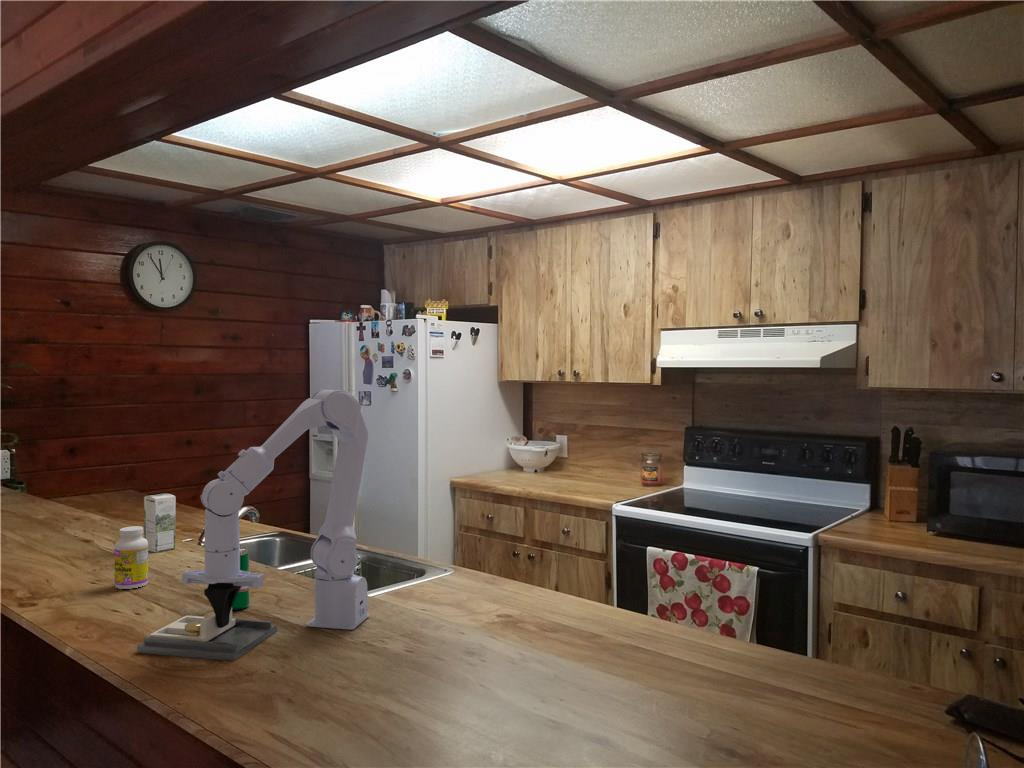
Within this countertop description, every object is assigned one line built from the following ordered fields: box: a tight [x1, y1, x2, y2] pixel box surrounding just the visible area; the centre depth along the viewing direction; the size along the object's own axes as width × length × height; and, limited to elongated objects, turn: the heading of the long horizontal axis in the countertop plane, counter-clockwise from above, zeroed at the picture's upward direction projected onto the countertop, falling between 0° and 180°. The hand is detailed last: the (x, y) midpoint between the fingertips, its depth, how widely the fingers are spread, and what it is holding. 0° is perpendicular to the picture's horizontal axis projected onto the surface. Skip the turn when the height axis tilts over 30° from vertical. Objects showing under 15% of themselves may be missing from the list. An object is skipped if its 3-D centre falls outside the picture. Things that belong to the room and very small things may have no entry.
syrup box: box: [143, 493, 177, 553], centre depth 197 cm, size 6×6×14 cm
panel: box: [149, 608, 236, 641], centre depth 131 cm, size 10×10×4 cm
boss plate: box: [136, 611, 278, 662], centre depth 130 cm, size 18×14×4 cm
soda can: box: [232, 545, 250, 611], centre depth 149 cm, size 5×5×12 cm
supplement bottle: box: [114, 525, 149, 590], centre depth 164 cm, size 7×7×13 cm
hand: (223, 625), depth 130 cm, fingers closed
